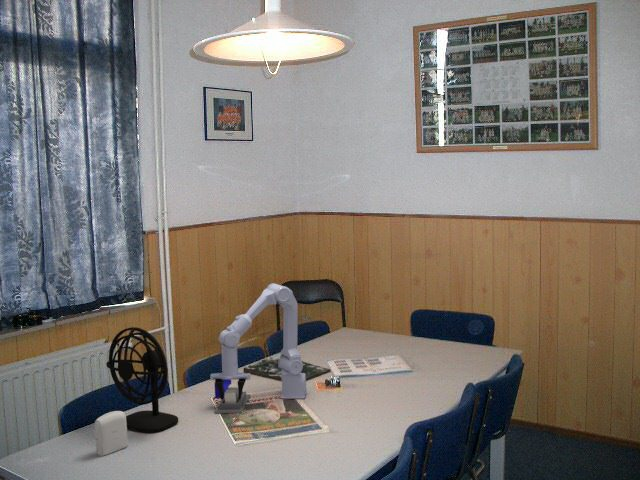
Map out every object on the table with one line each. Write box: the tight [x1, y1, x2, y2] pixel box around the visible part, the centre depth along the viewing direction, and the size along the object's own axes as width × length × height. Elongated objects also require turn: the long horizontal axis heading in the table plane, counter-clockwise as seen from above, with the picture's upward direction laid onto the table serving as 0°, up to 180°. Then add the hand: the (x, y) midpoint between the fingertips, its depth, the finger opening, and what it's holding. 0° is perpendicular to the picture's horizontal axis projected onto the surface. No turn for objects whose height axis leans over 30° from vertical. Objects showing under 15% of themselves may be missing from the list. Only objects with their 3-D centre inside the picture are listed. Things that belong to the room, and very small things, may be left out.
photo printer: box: [94, 410, 129, 457], centre depth 229 cm, size 10×4×12 cm, turn 140°
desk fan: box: [105, 326, 179, 433], centre depth 250 cm, size 27×18×35 cm, turn 59°
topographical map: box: [243, 357, 332, 382], centre depth 313 cm, size 26×33×3 cm
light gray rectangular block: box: [225, 390, 238, 403], centre depth 267 cm, size 4×4×6 cm
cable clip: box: [214, 380, 232, 399], centre depth 284 cm, size 12×4×6 cm, turn 170°
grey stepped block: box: [214, 383, 251, 415], centre depth 270 cm, size 10×20×6 cm, turn 177°
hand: (231, 398), depth 267 cm, fingers open, 6 cm apart
